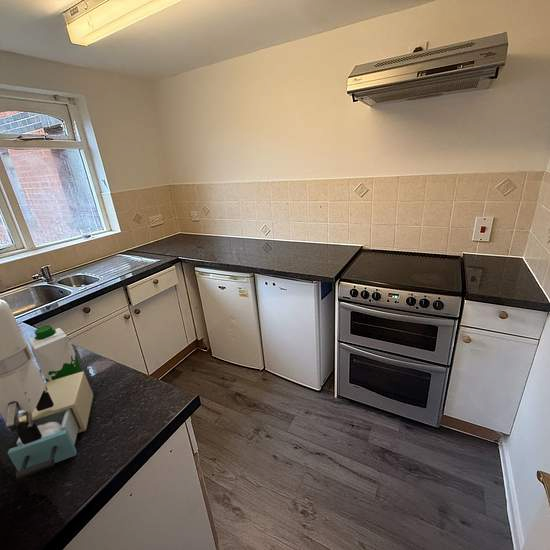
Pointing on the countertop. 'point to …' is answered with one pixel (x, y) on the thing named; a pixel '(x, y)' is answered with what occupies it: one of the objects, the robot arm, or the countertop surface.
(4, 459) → the countertop surface
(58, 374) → the milk carton
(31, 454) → the drawer
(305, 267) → the countertop surface
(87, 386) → the cabinet
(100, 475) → the countertop surface
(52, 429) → the dumpling
